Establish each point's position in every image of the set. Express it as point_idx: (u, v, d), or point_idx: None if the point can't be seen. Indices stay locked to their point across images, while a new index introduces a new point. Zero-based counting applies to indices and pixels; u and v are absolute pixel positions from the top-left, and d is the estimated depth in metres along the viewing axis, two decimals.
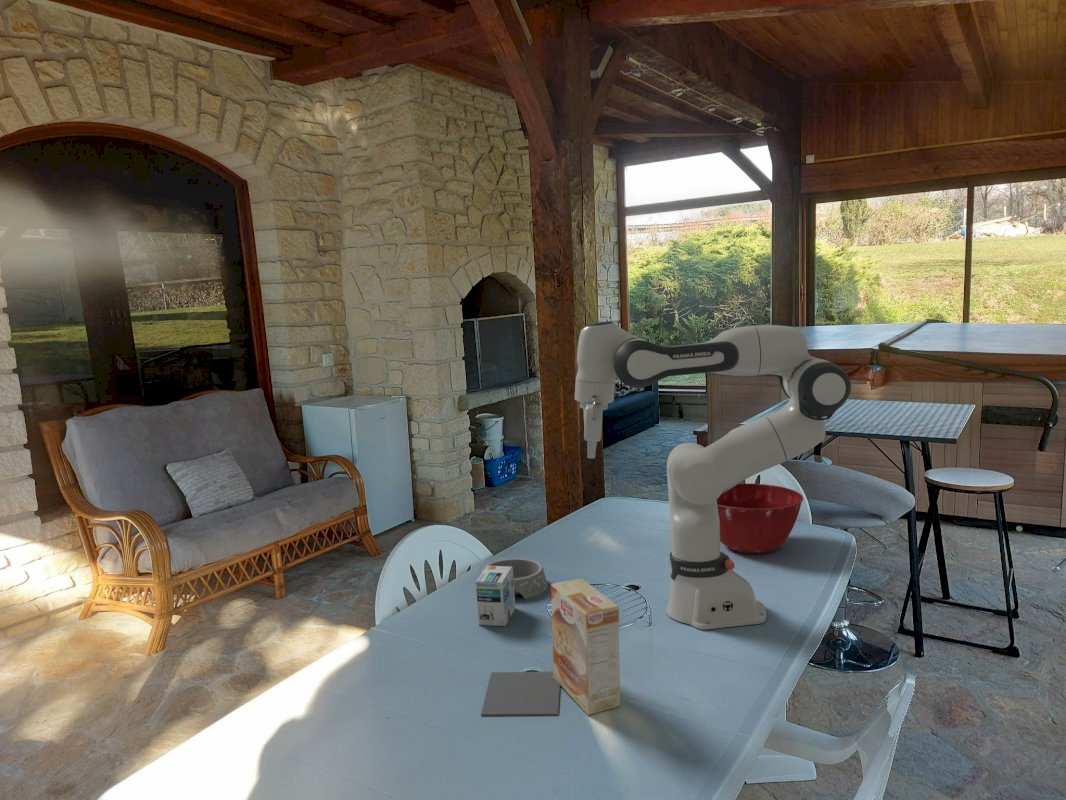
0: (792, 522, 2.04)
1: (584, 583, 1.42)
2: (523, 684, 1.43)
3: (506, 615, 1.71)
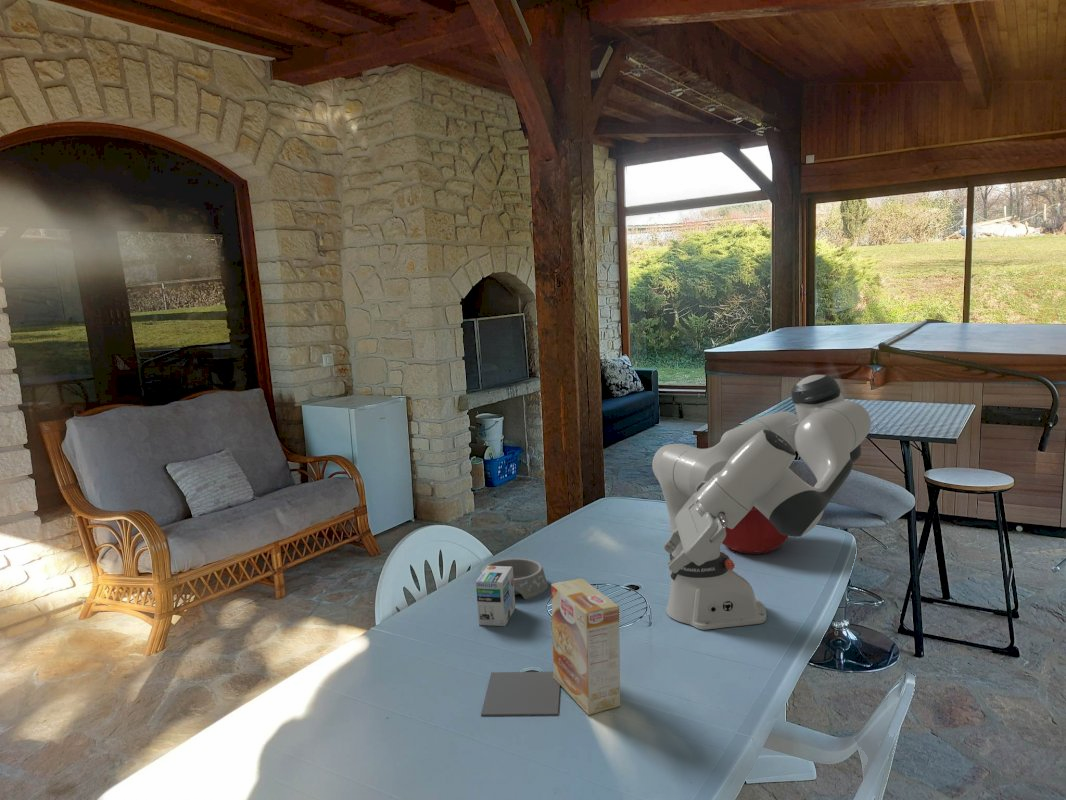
0: None
1: (584, 583, 1.42)
2: (523, 684, 1.43)
3: (506, 615, 1.71)
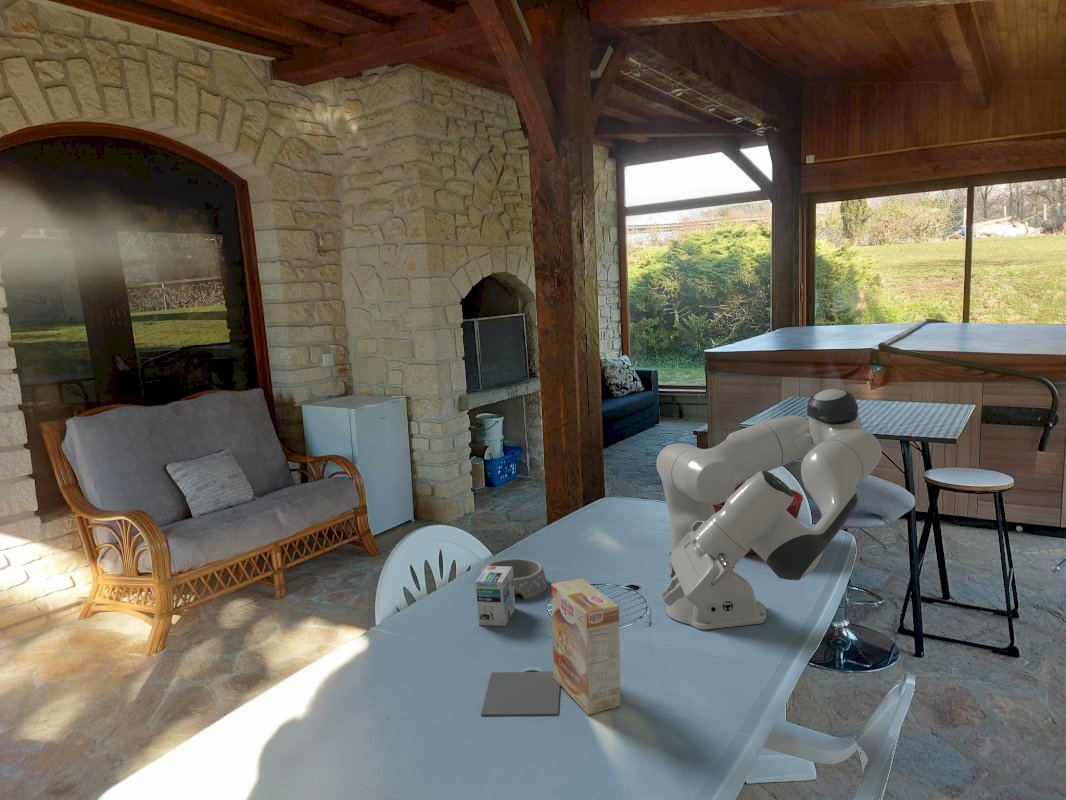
0: None
1: (584, 583, 1.42)
2: (523, 684, 1.43)
3: (506, 615, 1.71)
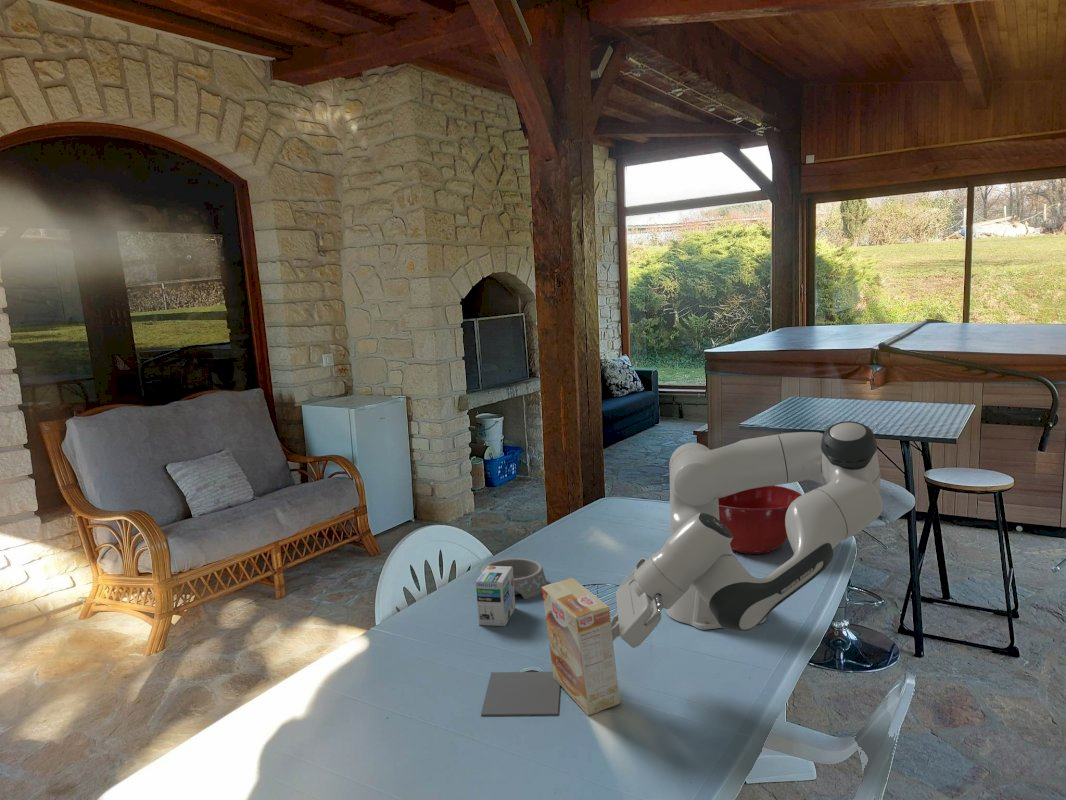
0: None
1: (575, 583, 1.41)
2: (523, 684, 1.43)
3: (506, 615, 1.71)
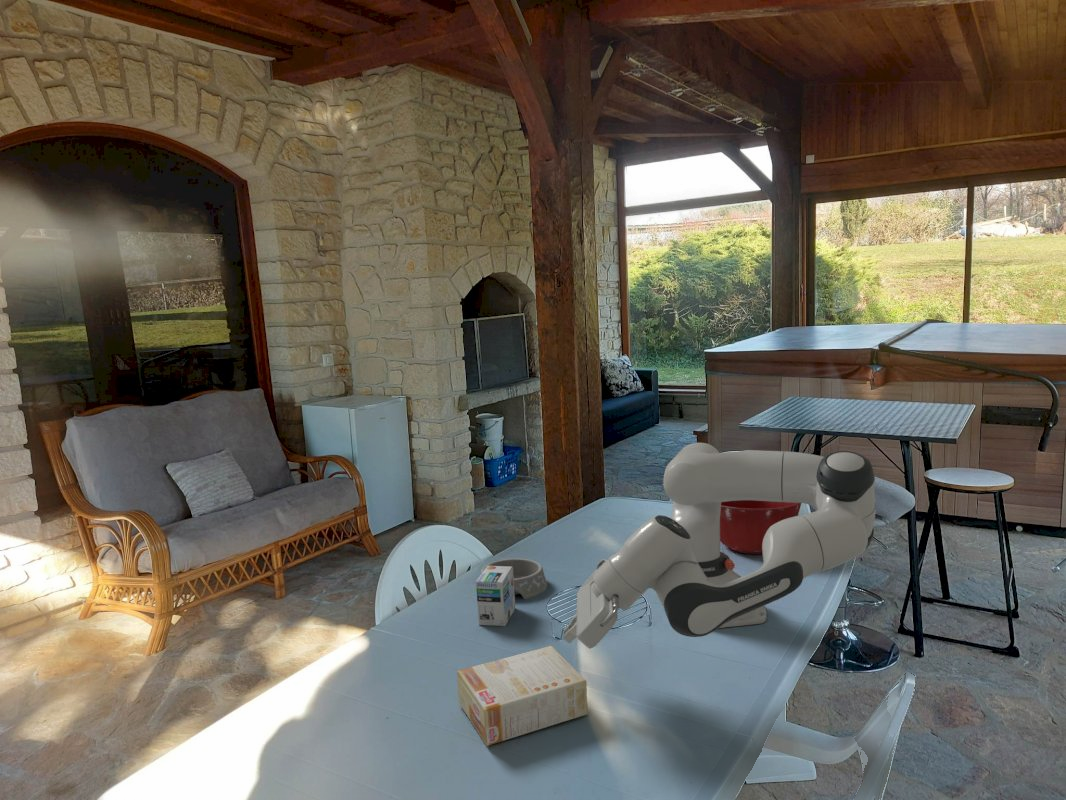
0: None
1: (461, 680, 1.34)
2: None
3: (506, 615, 1.71)
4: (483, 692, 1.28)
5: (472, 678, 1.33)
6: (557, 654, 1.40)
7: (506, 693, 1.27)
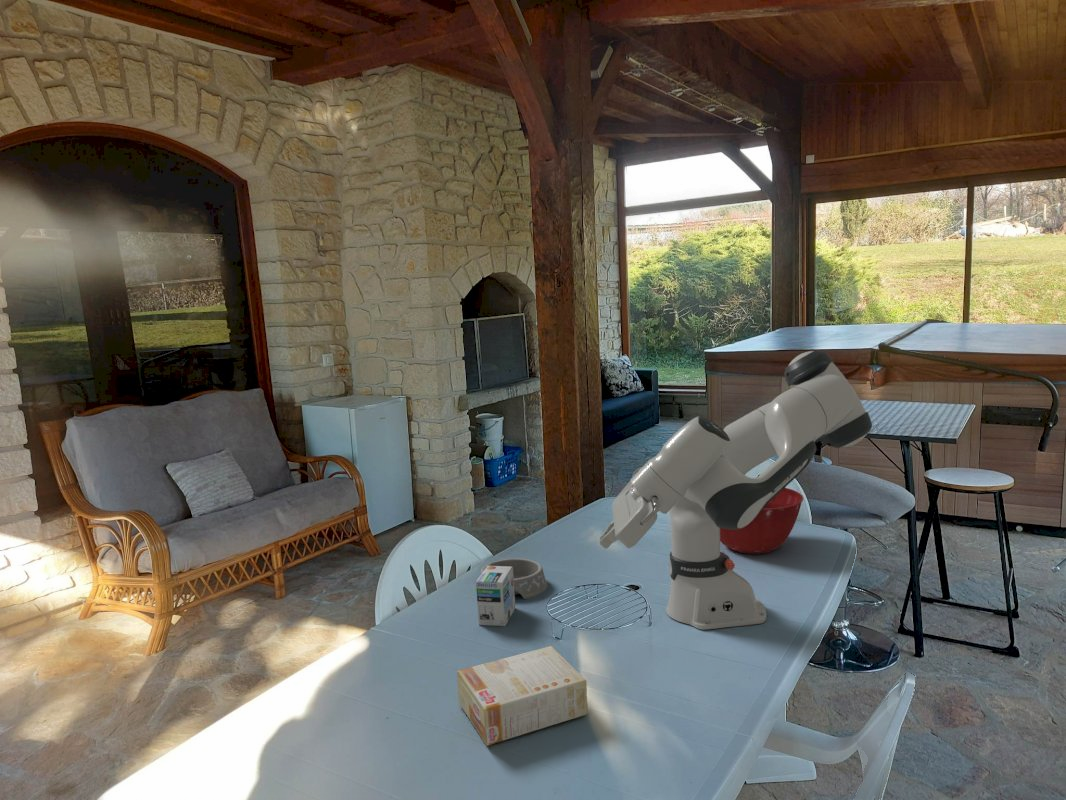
0: (792, 522, 2.04)
1: (461, 679, 1.34)
2: None
3: (506, 615, 1.71)
4: (483, 692, 1.28)
5: (473, 678, 1.33)
6: (557, 654, 1.40)
7: (506, 693, 1.27)
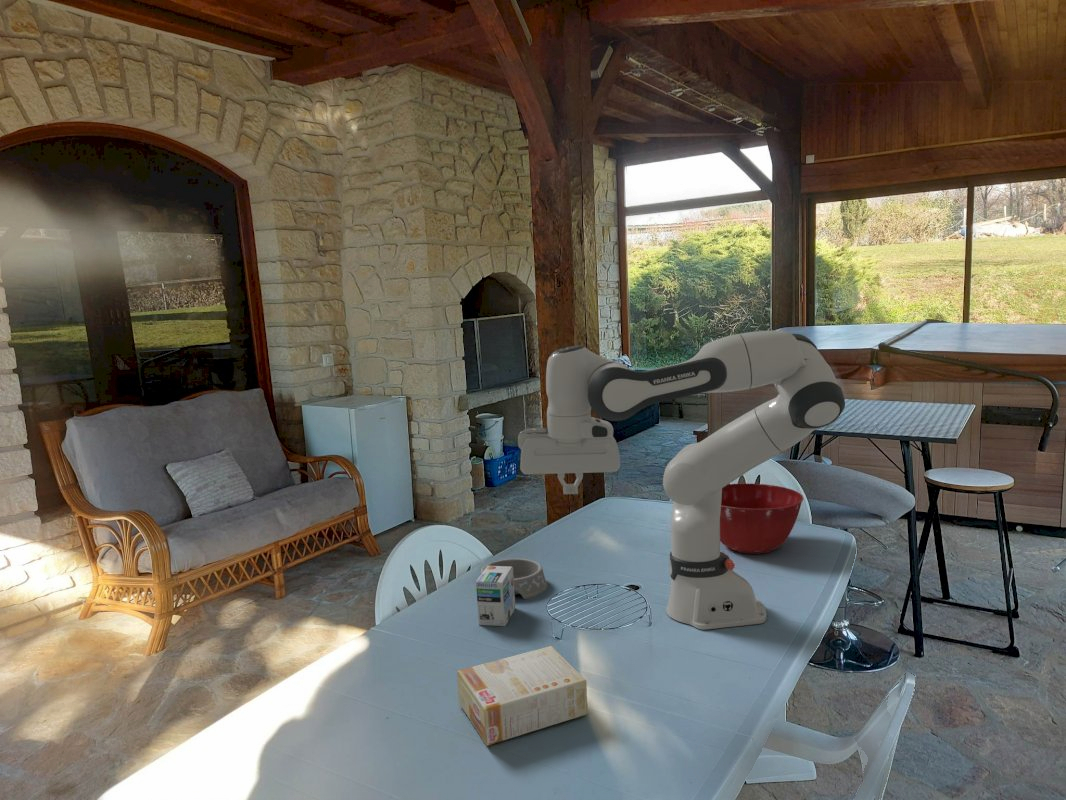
0: (792, 522, 2.04)
1: (461, 679, 1.34)
2: None
3: (506, 615, 1.71)
4: (483, 692, 1.28)
5: (473, 678, 1.33)
6: (557, 654, 1.40)
7: (506, 693, 1.27)
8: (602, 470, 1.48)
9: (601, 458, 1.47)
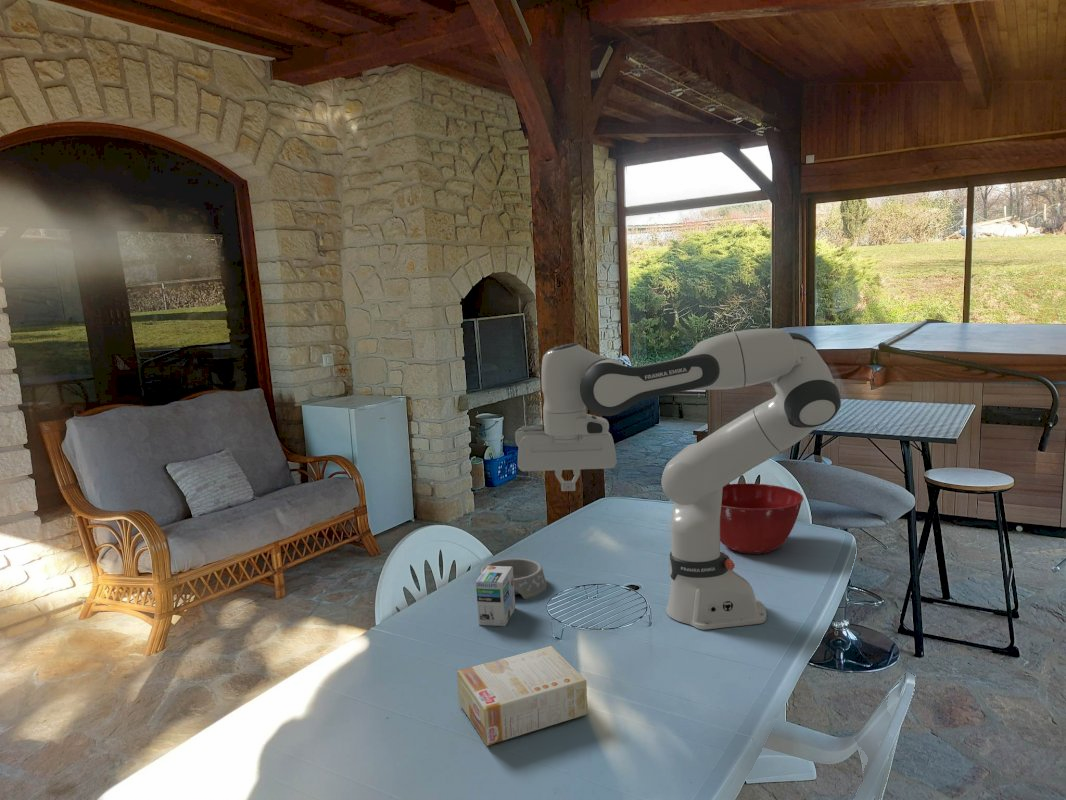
0: (792, 522, 2.04)
1: (461, 679, 1.34)
2: None
3: (506, 615, 1.71)
4: (483, 692, 1.28)
5: (473, 678, 1.33)
6: (557, 654, 1.40)
7: (506, 693, 1.27)
8: (598, 466, 1.49)
9: (597, 454, 1.48)
